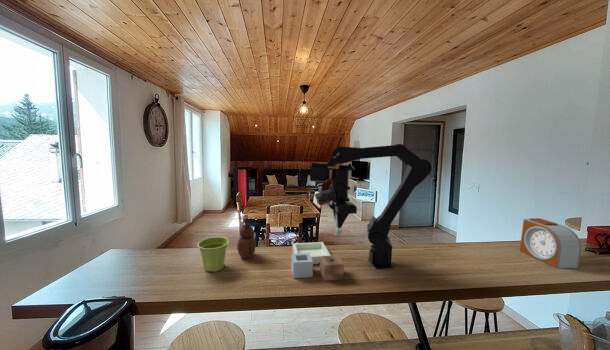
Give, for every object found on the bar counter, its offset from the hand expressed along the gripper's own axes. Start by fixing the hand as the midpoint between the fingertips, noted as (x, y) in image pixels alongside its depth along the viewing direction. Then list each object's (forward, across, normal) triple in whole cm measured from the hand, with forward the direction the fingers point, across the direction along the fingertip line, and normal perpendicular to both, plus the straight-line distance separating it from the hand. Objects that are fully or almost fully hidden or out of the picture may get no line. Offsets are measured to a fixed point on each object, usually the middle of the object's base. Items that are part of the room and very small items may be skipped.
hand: (338, 226), depth 85 cm
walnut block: (+12, +10, -5) cm, 17 cm away
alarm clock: (+12, +8, +78) cm, 79 cm away
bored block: (+12, +8, -14) cm, 20 cm away
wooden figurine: (+12, -6, -32) cm, 35 cm away
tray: (+12, -3, -9) cm, 16 cm away
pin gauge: (+3, 0, 0) cm, 3 cm away
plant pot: (+12, +1, -42) cm, 44 cm away
